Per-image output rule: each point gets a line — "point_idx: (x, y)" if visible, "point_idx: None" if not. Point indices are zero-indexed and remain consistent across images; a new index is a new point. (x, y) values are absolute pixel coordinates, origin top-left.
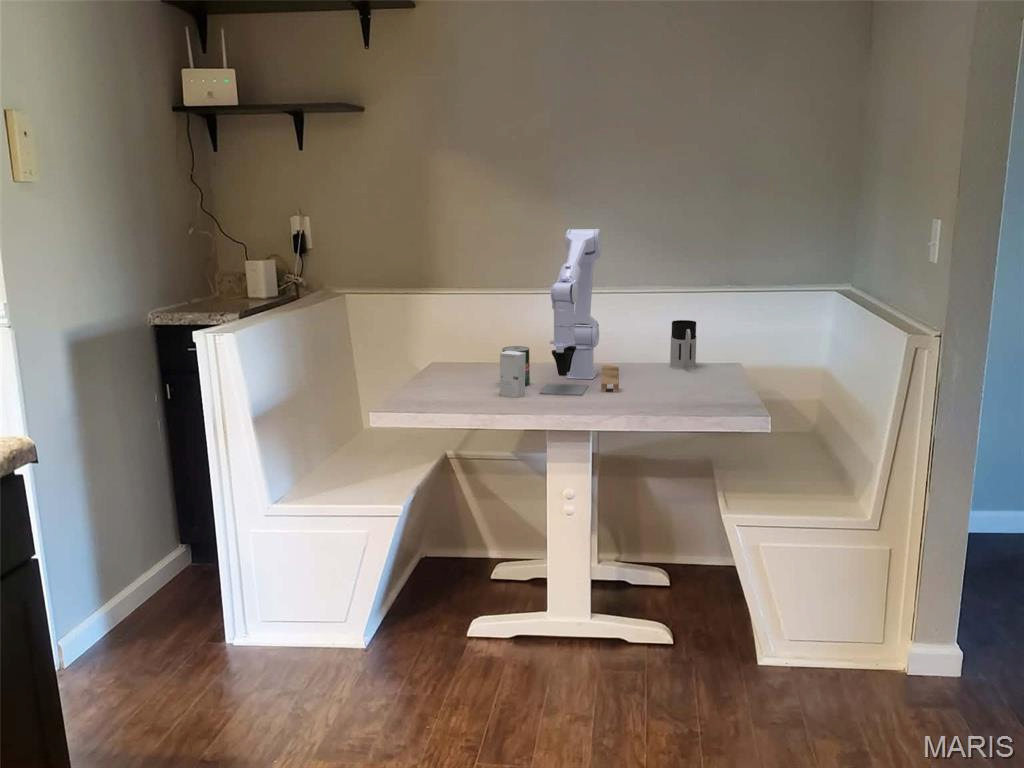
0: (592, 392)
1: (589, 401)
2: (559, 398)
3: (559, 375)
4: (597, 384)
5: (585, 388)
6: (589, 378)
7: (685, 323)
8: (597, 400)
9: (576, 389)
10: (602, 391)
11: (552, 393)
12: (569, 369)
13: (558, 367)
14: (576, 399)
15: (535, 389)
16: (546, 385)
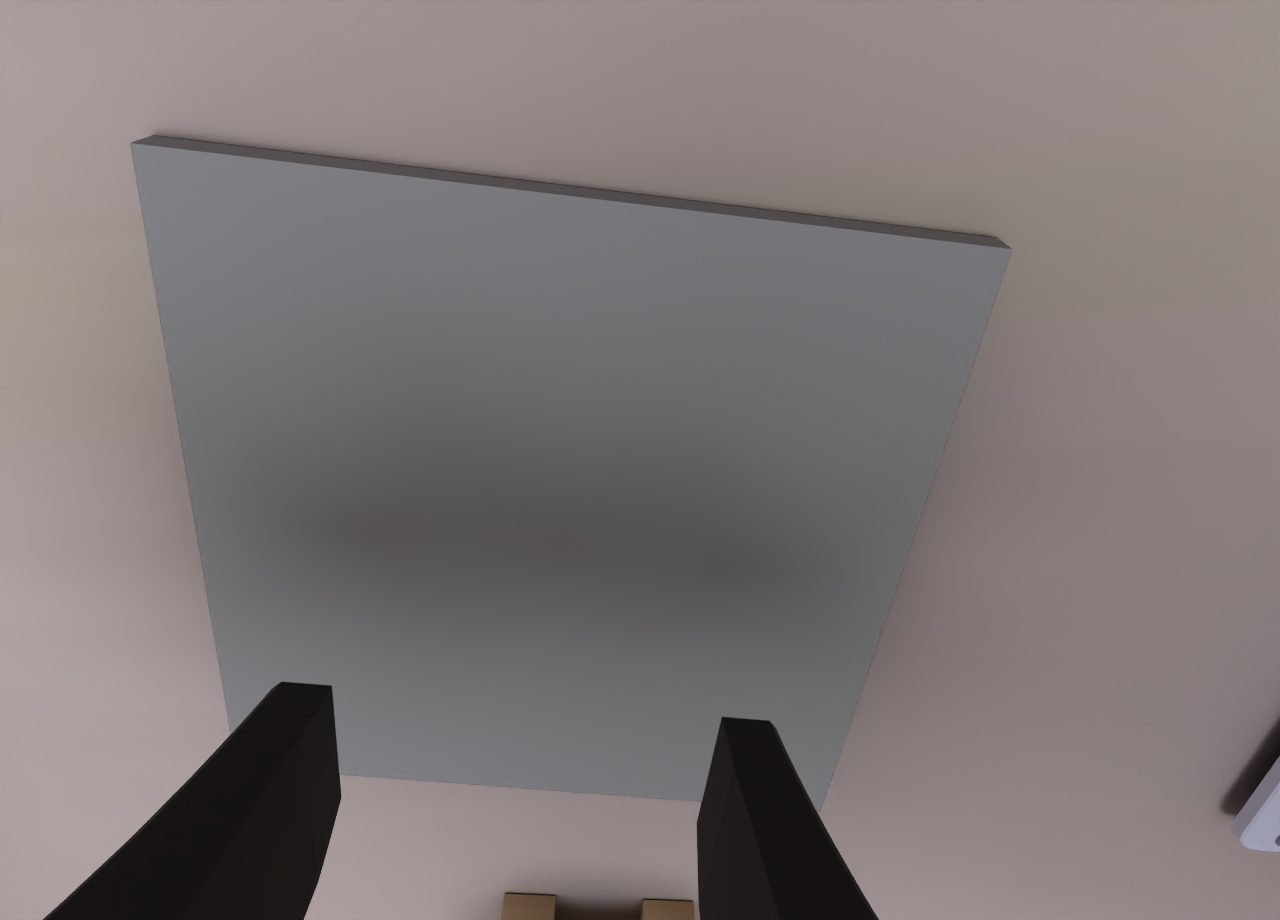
0: (509, 825)
1: (5, 809)
2: (13, 494)
3: (266, 697)
4: (975, 858)
5: (601, 788)
6: (1247, 815)
7: None
8: (94, 869)
9: (524, 701)
10: (504, 915)
11: (174, 395)
12: (699, 882)
13: (152, 858)
14: (49, 691)
15: (658, 2)
16: (838, 244)
